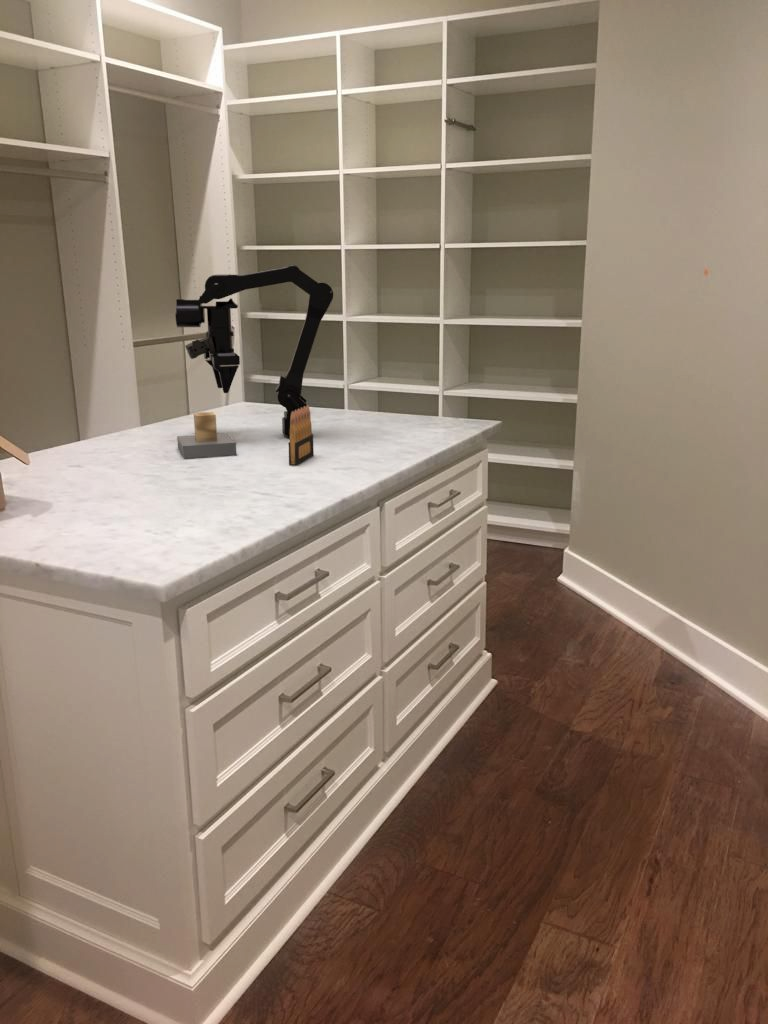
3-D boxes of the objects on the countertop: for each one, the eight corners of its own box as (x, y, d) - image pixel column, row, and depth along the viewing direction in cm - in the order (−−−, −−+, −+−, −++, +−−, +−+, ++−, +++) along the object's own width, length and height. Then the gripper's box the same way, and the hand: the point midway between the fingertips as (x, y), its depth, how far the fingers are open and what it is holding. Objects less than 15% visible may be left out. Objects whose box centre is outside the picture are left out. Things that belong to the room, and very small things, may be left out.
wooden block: (214, 437, 201) (212, 412, 200) (217, 440, 197) (215, 415, 195) (195, 438, 200) (193, 413, 198) (197, 441, 196) (196, 416, 194)
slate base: (228, 445, 207) (227, 433, 206) (236, 455, 196) (235, 442, 195) (177, 448, 203) (177, 436, 202) (183, 458, 192) (182, 446, 191)
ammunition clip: (296, 465, 186) (295, 411, 182) (288, 465, 186) (287, 411, 183) (313, 455, 196) (312, 404, 192) (306, 455, 196) (305, 404, 193)
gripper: (182, 325, 214) (185, 387, 219) (191, 330, 197) (195, 397, 202) (226, 324, 218) (229, 385, 222) (238, 329, 201) (241, 395, 205)
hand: (222, 390), depth 213 cm, fingers open, 9 cm apart
